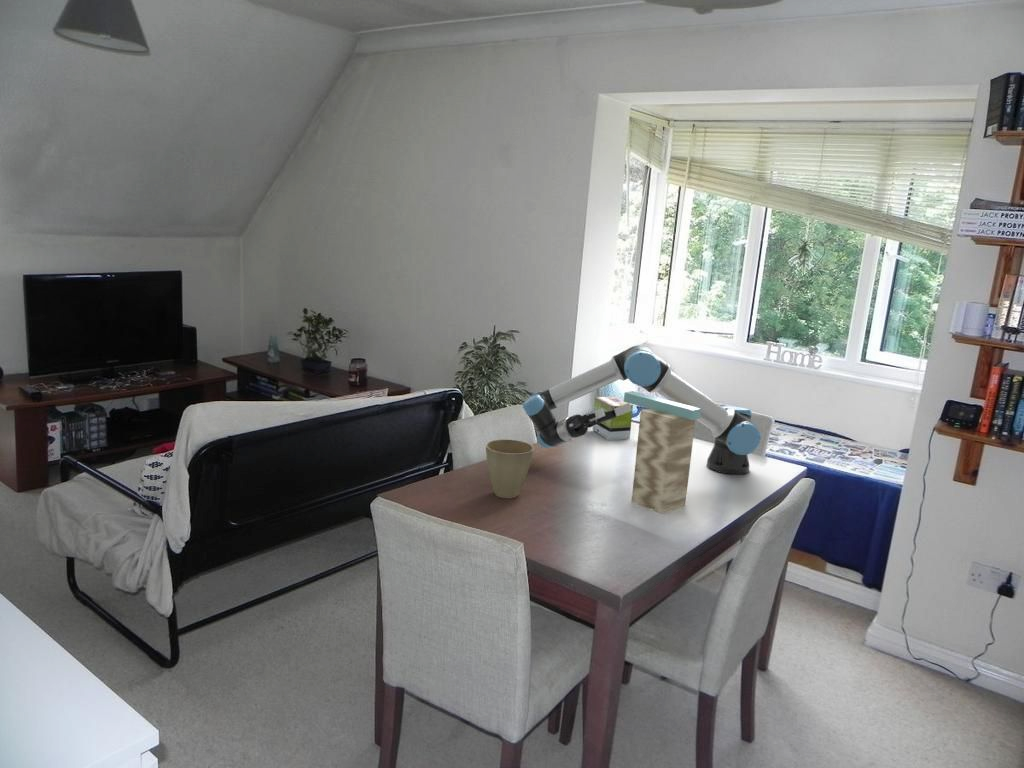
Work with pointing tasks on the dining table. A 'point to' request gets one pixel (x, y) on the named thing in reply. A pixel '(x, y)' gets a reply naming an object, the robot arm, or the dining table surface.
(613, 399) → the tea box
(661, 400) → the teal block
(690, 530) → the dining table surface
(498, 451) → the plant pot
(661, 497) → the wooden stand
